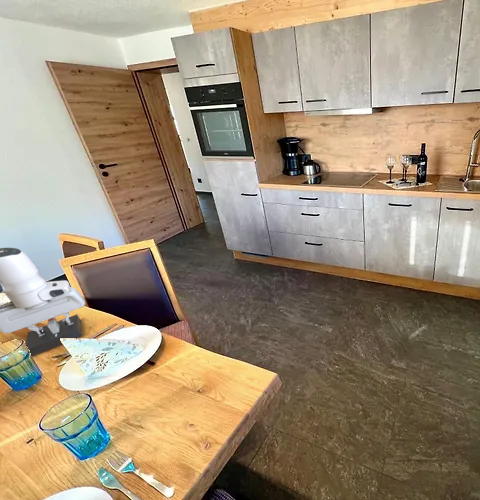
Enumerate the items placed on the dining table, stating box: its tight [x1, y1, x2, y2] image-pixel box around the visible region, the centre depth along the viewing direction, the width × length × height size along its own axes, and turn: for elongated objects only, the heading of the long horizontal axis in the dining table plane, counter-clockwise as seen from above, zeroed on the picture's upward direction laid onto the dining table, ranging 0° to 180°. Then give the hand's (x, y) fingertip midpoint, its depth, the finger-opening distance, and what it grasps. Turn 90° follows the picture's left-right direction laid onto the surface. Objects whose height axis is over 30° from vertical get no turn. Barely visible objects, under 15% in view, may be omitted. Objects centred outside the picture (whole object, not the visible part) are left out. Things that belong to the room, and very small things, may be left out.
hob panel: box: [25, 314, 83, 357], centre depth 98 cm, size 13×11×3 cm
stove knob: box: [47, 317, 60, 334], centre depth 97 cm, size 5×2×4 cm, turn 41°
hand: (55, 328), depth 98 cm, fingers open, 5 cm apart
